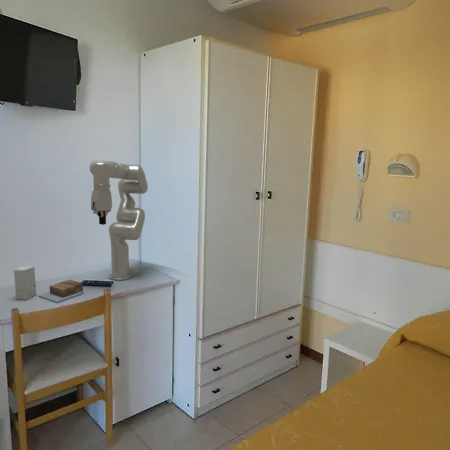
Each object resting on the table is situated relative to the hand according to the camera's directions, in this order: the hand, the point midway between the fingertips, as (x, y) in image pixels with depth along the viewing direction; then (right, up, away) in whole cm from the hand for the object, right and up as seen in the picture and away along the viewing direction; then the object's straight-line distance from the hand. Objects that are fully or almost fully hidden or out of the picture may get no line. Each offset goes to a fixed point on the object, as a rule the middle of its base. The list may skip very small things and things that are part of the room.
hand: (102, 224), depth 211 cm
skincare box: (-36, -36, -4) cm, 51 cm away
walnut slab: (-15, -31, +6) cm, 35 cm away
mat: (-20, -35, -1) cm, 41 cm away
